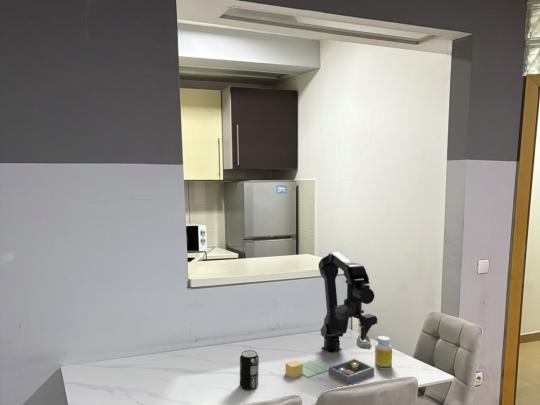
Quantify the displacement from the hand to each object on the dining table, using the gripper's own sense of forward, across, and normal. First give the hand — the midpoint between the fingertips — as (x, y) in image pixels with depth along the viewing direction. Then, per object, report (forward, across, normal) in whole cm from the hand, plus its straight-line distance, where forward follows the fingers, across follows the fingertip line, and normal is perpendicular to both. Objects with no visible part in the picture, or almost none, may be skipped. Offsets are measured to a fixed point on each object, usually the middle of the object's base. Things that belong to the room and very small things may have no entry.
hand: (353, 336), depth 161 cm
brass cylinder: (+13, +1, 0) cm, 13 cm away
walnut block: (+13, +5, -8) cm, 15 cm away
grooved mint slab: (+13, -9, -15) cm, 22 cm away
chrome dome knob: (+13, +1, -7) cm, 14 cm away
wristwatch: (+13, -15, +24) cm, 31 cm away
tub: (+13, +3, -4) cm, 14 cm away
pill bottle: (+13, +5, +12) cm, 19 cm away
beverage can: (+13, -11, -41) cm, 44 cm away
